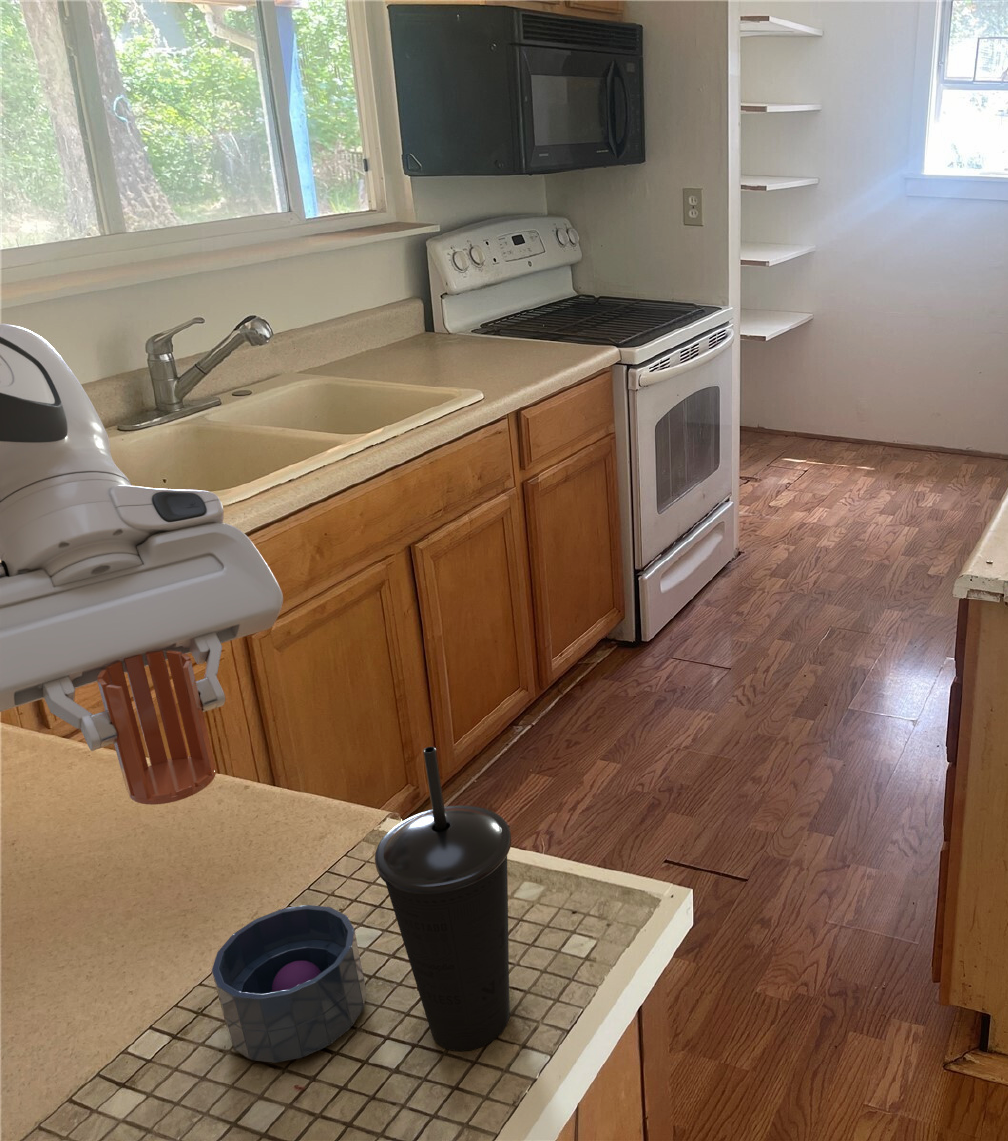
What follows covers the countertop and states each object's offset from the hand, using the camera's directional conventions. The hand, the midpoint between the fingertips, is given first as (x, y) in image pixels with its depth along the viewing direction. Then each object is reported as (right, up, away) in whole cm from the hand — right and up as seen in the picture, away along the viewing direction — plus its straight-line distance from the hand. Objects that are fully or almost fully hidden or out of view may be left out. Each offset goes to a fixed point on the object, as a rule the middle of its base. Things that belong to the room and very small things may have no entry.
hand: (161, 724), depth 69 cm
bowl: (+9, -18, -1) cm, 21 cm away
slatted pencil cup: (0, -4, +2) cm, 5 cm away
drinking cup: (+20, -19, -2) cm, 28 cm away
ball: (+9, -16, -1) cm, 19 cm away
